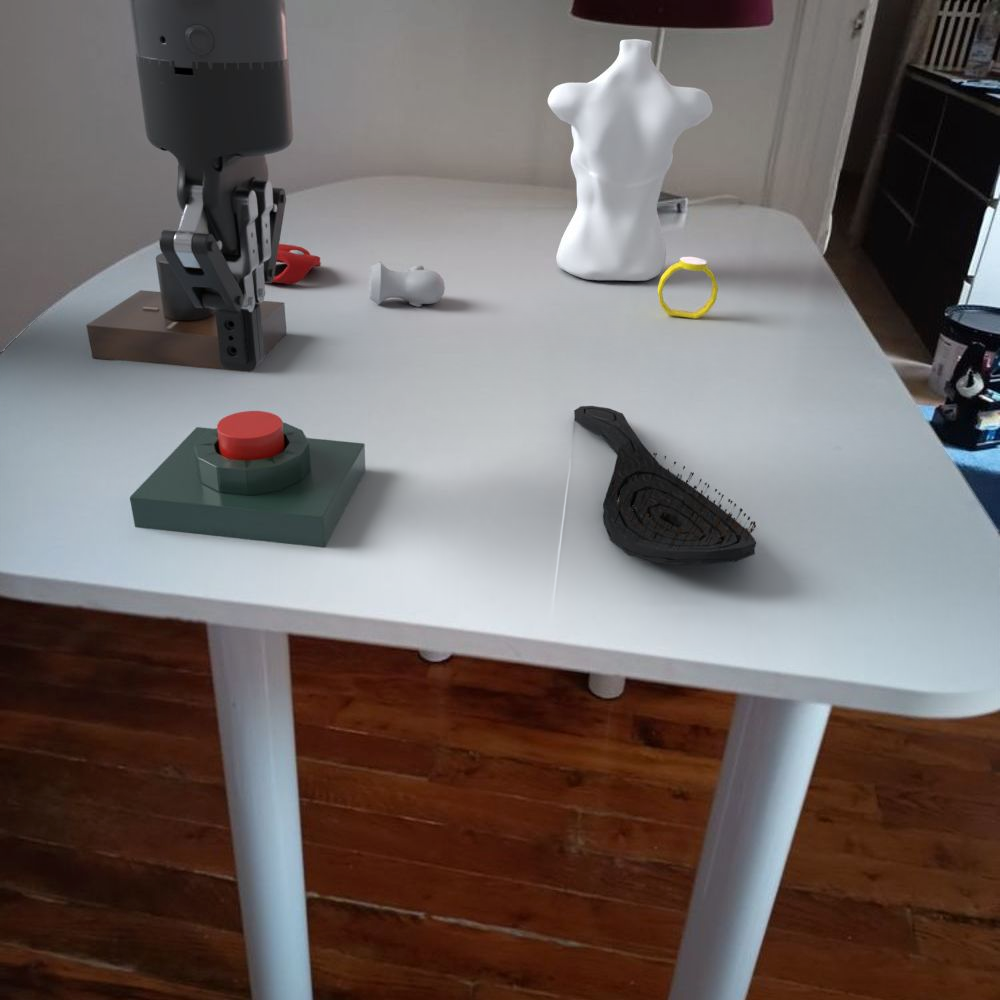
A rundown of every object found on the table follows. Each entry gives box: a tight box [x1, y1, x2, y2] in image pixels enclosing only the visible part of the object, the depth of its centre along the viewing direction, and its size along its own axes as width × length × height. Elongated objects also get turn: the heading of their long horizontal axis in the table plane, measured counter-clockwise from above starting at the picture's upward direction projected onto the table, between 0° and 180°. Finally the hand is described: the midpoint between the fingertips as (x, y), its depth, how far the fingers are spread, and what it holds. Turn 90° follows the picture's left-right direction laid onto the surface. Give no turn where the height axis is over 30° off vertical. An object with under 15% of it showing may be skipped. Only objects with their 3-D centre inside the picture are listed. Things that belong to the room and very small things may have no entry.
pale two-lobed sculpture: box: [368, 261, 446, 308], centre depth 95 cm, size 4×8×5 cm
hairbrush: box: [573, 405, 758, 565], centre depth 62 cm, size 8×4×25 cm
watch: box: [657, 256, 719, 320], centre depth 95 cm, size 6×3×6 cm, turn 86°
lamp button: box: [216, 410, 285, 461], centre depth 58 cm, size 4×4×2 cm
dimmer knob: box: [155, 252, 215, 321], centre depth 80 cm, size 4×4×5 cm
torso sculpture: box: [547, 38, 714, 282], centre depth 103 cm, size 18×10×25 cm, turn 95°
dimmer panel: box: [86, 289, 287, 373], centre depth 82 cm, size 14×10×3 cm
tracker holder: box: [272, 242, 322, 285], centre depth 101 cm, size 12×4×10 cm
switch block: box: [129, 421, 366, 548], centre depth 59 cm, size 12×10×4 cm
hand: (243, 365), depth 55 cm, fingers closed
